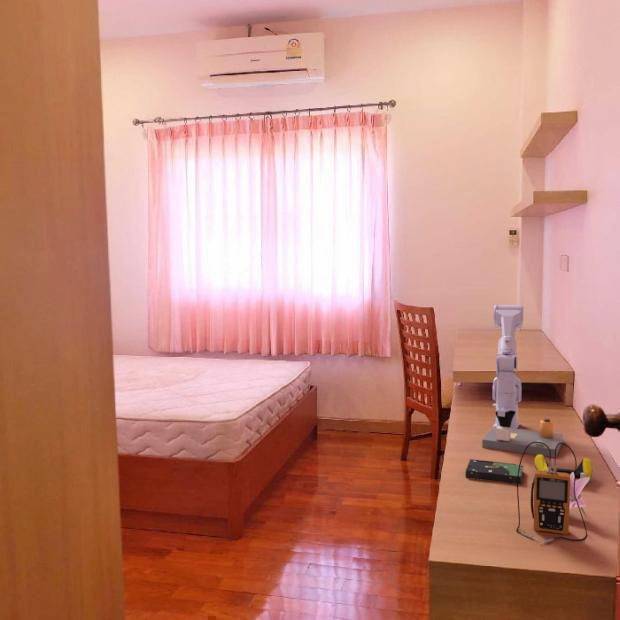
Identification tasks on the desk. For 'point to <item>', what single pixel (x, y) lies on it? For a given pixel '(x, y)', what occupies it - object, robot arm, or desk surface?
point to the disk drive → (494, 471)
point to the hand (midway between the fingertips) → (505, 433)
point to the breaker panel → (524, 442)
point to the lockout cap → (546, 428)
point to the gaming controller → (581, 472)
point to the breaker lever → (503, 433)
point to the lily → (577, 491)
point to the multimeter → (550, 500)
